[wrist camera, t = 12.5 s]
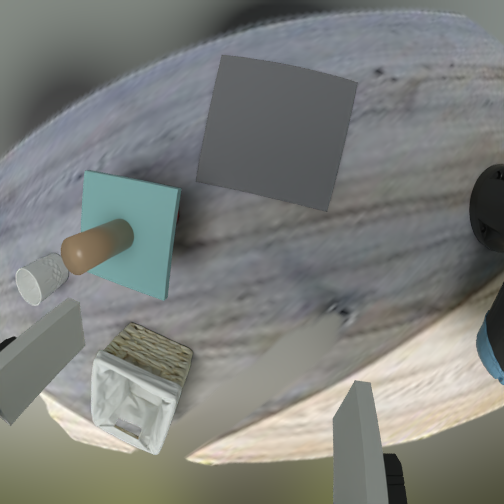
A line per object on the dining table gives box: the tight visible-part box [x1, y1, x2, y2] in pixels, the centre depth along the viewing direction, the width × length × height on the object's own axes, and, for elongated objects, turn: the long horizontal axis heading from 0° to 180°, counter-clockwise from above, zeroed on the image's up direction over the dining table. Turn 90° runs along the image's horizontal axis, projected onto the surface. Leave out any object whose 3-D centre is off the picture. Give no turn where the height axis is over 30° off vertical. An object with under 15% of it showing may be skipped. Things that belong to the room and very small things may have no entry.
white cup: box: [16, 253, 68, 306], centre depth 50 cm, size 8×8×10 cm
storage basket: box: [91, 323, 193, 455], centre depth 53 cm, size 24×16×15 cm
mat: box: [196, 55, 358, 212], centre depth 41 cm, size 20×20×1 cm
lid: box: [61, 170, 182, 300], centre depth 32 cm, size 14×14×10 cm
